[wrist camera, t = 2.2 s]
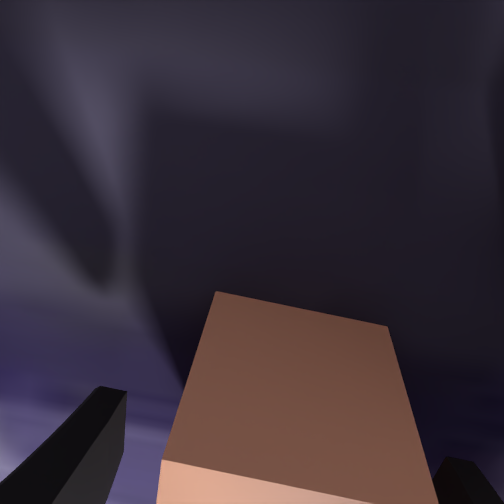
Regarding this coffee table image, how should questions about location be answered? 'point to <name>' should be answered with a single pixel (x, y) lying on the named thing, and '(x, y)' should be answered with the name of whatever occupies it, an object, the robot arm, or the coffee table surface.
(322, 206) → the coffee table surface
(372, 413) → the terracotta cube
